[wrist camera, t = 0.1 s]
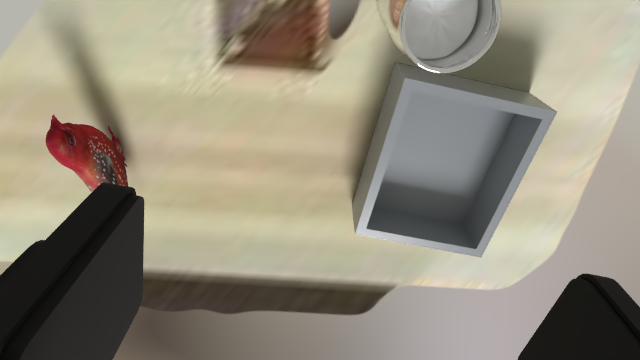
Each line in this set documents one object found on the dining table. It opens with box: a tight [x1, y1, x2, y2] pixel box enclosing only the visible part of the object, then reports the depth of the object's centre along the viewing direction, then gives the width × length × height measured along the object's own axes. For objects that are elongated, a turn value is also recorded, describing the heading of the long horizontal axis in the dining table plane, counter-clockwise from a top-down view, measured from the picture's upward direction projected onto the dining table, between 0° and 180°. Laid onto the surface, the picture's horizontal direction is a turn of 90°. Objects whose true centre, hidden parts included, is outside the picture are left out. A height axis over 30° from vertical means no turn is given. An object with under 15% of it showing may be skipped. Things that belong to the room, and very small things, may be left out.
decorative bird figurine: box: [46, 115, 128, 192], centre depth 44 cm, size 3×18×10 cm, turn 9°
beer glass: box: [378, 0, 501, 73], centre depth 33 cm, size 7×7×15 cm
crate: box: [352, 62, 557, 257], centre depth 45 cm, size 18×15×6 cm
